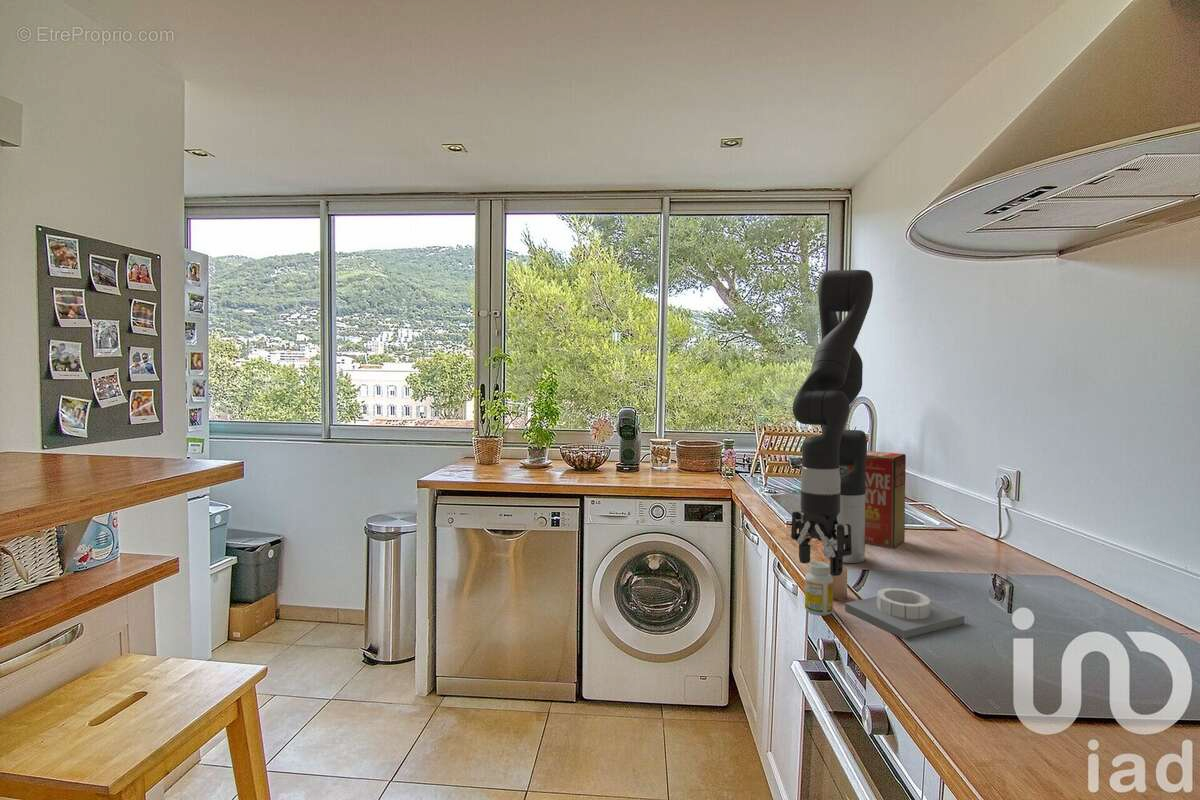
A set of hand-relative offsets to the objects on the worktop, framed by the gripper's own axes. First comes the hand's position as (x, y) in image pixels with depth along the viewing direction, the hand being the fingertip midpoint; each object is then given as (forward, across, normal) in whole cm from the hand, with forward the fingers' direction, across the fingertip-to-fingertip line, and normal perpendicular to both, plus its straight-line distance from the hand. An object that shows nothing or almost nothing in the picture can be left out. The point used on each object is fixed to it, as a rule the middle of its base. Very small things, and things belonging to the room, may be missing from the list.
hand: (819, 568), depth 120 cm
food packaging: (+8, +31, -49) cm, 59 cm away
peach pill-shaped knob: (+9, +5, -9) cm, 14 cm away
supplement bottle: (+9, 0, 0) cm, 9 cm away
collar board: (+9, -9, -13) cm, 18 cm away
